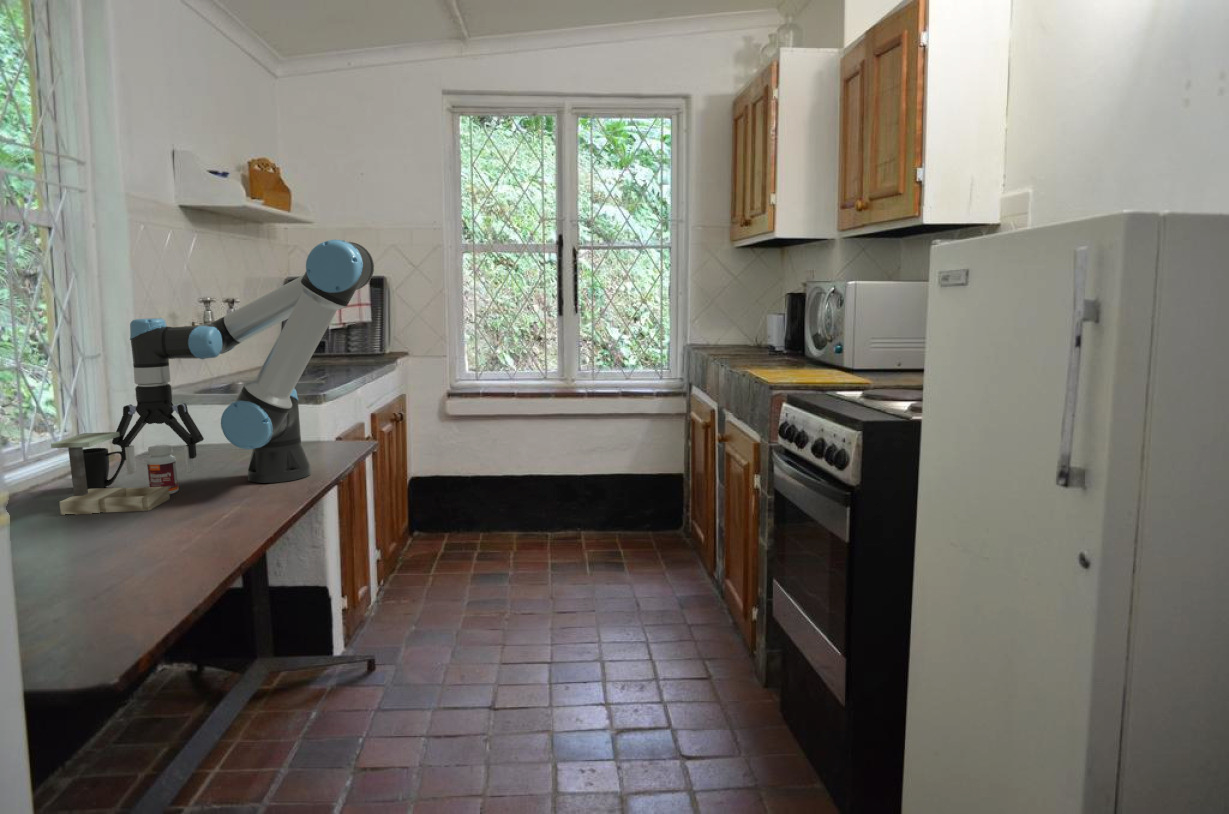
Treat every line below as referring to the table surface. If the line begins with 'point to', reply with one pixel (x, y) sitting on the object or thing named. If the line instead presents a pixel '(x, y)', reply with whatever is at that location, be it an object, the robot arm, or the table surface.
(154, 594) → the table surface
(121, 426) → the robot arm
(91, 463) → the mug
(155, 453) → the pill bottle
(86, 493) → the socket block
